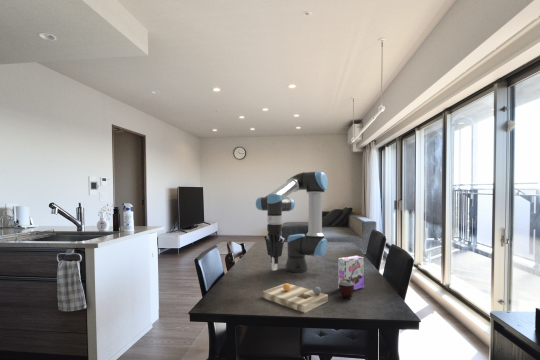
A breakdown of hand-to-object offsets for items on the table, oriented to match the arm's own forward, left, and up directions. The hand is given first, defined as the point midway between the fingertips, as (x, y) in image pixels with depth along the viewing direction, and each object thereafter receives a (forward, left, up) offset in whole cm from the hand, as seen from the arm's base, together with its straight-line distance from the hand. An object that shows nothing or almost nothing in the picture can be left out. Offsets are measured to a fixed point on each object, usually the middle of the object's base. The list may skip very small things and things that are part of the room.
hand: (274, 269), depth 148 cm
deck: (+13, 0, -12) cm, 18 cm away
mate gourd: (+30, +20, -12) cm, 38 cm away
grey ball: (+22, +6, -7) cm, 24 cm away
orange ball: (+8, 0, -7) cm, 11 cm away
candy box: (+25, +33, -12) cm, 43 cm away
